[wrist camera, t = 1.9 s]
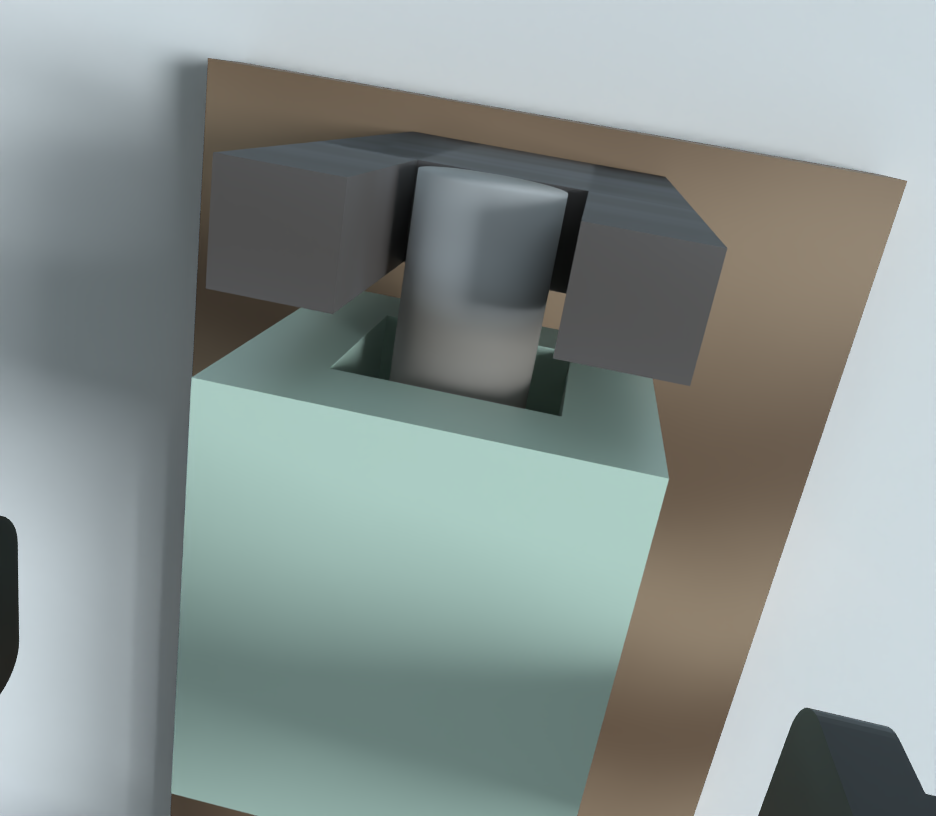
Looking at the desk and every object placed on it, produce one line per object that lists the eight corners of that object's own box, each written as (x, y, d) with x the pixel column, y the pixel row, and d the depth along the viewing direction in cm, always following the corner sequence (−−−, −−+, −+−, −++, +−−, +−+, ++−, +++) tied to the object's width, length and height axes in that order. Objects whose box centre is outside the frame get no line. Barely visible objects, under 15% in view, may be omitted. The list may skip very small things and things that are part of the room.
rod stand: (242, 63, 16) (-197, 4, 7) (879, 174, 15) (1259, 263, 6) (190, 891, 24) (-56, 1350, 15) (610, 1004, 23) (611, 1570, 14)
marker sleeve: (335, 286, 12) (191, 377, 8) (646, 347, 11) (669, 478, 7) (302, 587, 14) (170, 793, 10) (572, 650, 13) (556, 893, 9)
